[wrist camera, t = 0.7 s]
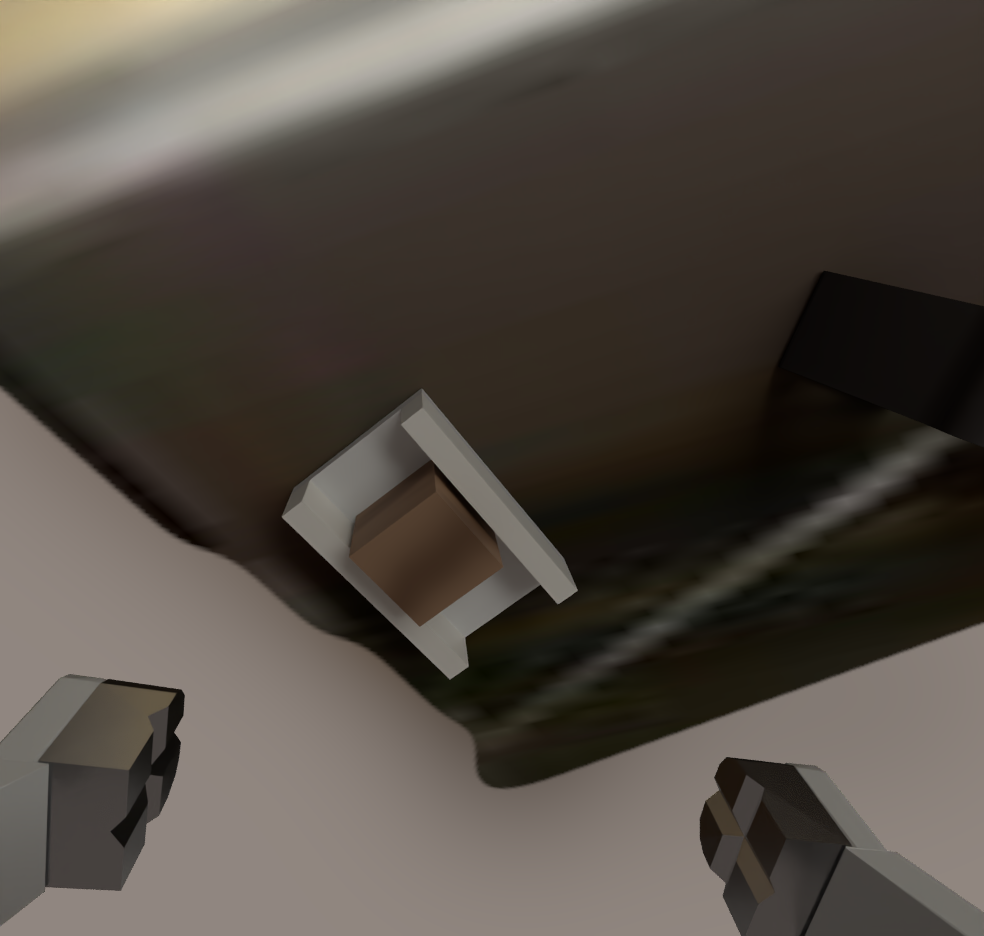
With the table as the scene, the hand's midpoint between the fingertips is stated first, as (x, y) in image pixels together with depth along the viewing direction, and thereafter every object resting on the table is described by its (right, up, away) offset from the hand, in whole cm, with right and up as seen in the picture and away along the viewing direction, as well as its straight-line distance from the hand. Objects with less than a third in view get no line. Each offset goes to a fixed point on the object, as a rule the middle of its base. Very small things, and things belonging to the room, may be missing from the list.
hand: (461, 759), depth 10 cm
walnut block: (-4, +1, +30) cm, 31 cm away
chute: (-3, +1, +32) cm, 32 cm away
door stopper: (+23, +12, +31) cm, 40 cm away
